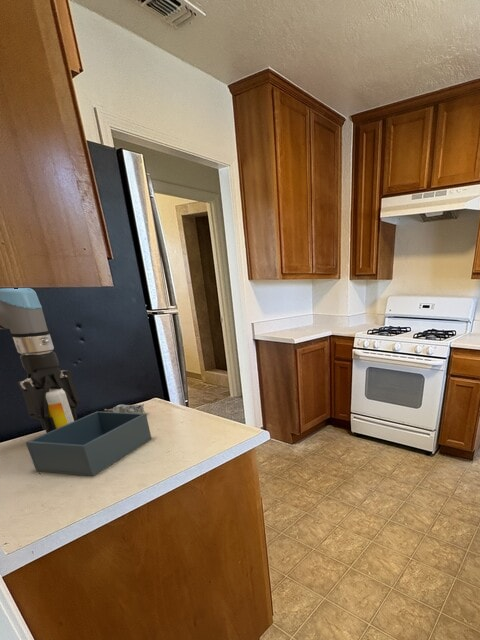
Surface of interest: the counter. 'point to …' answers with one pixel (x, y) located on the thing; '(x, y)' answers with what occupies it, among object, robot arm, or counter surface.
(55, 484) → the counter surface
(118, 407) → the egg carton
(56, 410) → the beer can
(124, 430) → the tub
